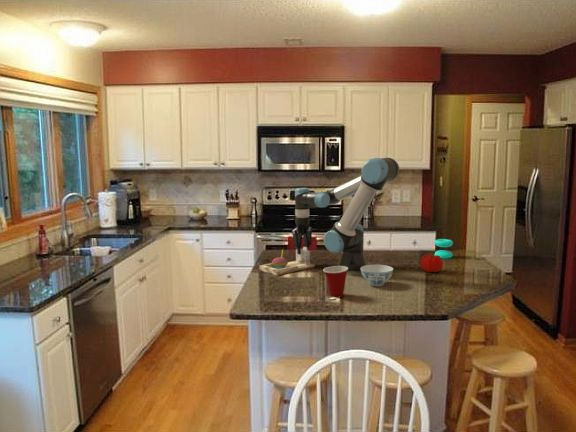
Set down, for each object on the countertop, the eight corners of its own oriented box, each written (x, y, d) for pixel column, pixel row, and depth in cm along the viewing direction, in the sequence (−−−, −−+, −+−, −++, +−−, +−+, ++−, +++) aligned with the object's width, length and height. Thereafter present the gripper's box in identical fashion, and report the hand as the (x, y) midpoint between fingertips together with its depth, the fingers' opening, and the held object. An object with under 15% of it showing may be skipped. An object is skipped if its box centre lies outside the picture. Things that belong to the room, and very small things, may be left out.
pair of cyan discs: (431, 239, 286) (442, 238, 291) (430, 256, 287) (442, 254, 293) (445, 242, 278) (456, 240, 283) (444, 259, 279) (456, 257, 285)
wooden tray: (314, 266, 266) (314, 251, 265) (277, 275, 249) (276, 259, 248) (296, 262, 277) (296, 248, 276) (259, 270, 261) (259, 254, 260)
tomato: (443, 274, 247) (444, 257, 246) (420, 273, 249) (421, 256, 248) (441, 269, 257) (441, 253, 256) (419, 268, 259) (419, 252, 258)
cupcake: (290, 269, 262) (290, 247, 261) (283, 273, 255) (283, 250, 253) (276, 268, 266) (275, 246, 264) (269, 271, 258) (268, 249, 257)
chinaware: (386, 290, 220) (386, 273, 219) (355, 286, 228) (355, 269, 227) (397, 282, 233) (398, 266, 232) (368, 278, 241) (368, 263, 240)
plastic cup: (321, 292, 220) (321, 265, 218) (345, 291, 221) (345, 264, 219) (325, 299, 209) (325, 271, 208) (350, 298, 210) (350, 270, 208)
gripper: (308, 214, 275) (309, 256, 278) (286, 217, 265) (287, 260, 268) (318, 215, 269) (318, 258, 272) (295, 218, 259) (296, 262, 262)
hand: (302, 259), depth 270 cm, fingers closed on wooden tray, 3 cm apart
